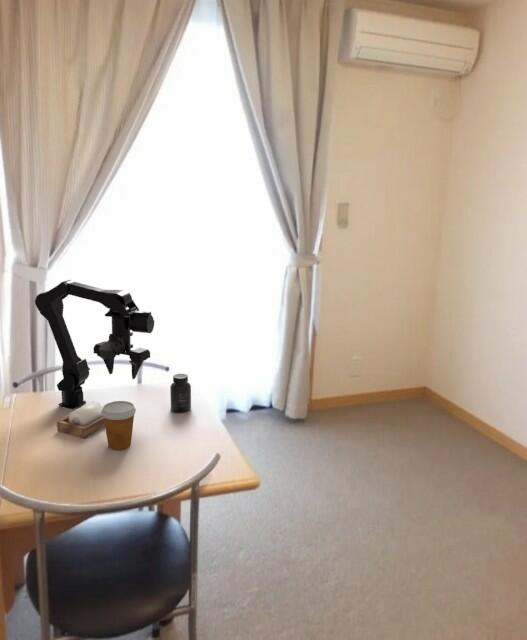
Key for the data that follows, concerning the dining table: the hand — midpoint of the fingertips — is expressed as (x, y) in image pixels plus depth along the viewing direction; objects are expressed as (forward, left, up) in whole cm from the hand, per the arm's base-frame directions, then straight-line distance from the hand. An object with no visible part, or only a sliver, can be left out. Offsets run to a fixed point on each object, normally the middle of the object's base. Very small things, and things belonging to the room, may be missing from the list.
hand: (122, 376), depth 182 cm
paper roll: (-2, -15, -8) cm, 17 cm away
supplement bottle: (+16, +10, -12) cm, 22 cm away
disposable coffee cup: (+15, -20, -12) cm, 28 cm away
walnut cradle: (-2, -15, -12) cm, 19 cm away
